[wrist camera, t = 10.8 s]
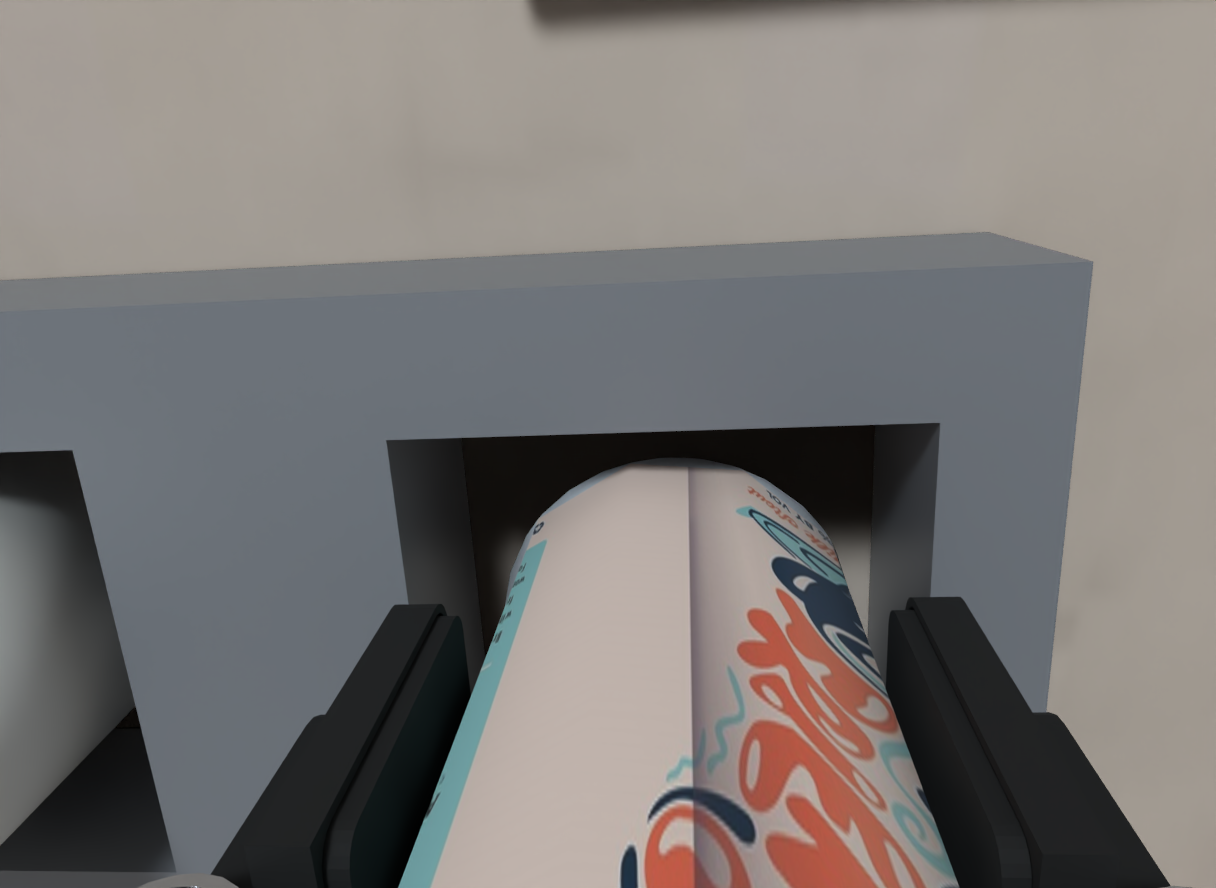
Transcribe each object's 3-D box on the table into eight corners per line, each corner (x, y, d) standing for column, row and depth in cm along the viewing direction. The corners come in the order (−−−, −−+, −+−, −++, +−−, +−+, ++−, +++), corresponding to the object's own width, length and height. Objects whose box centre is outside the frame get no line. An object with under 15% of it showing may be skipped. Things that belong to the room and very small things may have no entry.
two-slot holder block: (988, 232, 13) (1410, 349, 6) (948, 810, 16) (1186, 1396, 9) (-284, 294, 15) (-1287, 450, 7) (-104, 806, 18) (-676, 1289, 10)
